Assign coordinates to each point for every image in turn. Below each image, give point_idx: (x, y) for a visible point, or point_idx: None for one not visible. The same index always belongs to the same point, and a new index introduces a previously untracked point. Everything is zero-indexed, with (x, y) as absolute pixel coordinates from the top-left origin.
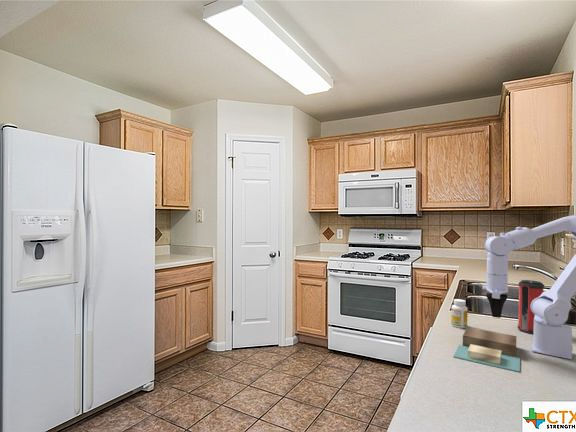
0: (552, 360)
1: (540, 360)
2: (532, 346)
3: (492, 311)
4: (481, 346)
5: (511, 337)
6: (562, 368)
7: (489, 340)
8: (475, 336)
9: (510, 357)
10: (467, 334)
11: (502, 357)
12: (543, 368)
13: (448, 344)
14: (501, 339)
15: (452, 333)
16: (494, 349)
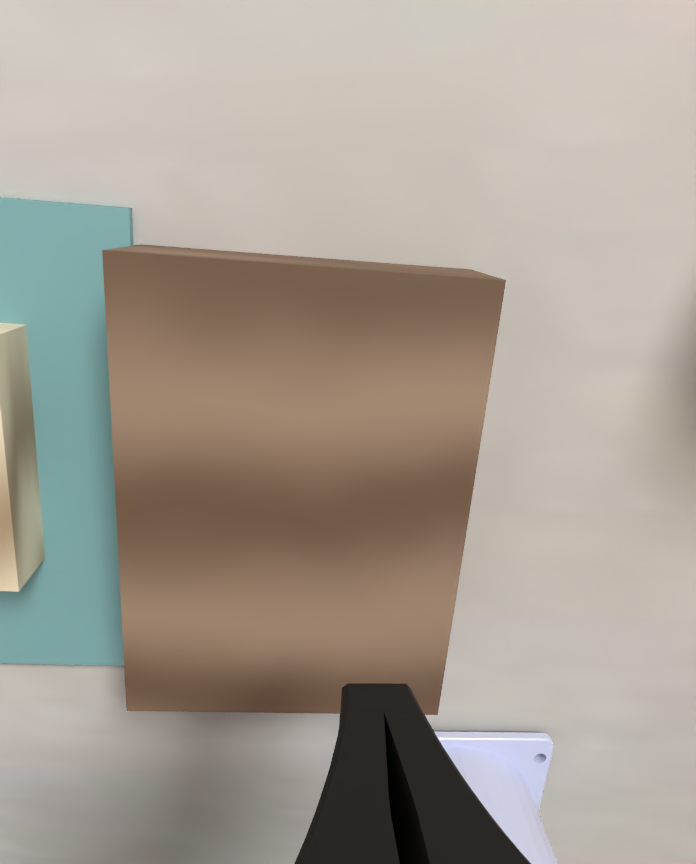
0: (262, 812)
1: (210, 760)
2: (455, 742)
3: (335, 753)
4: (4, 438)
5: (362, 681)
6: (142, 844)
7: (118, 519)
8: (159, 389)
9: (98, 613)
10: (177, 301)
11: (52, 565)
12: (55, 767)
13: (103, 91)
14: (233, 612)
15: (542, 106)
16: (3, 542)
